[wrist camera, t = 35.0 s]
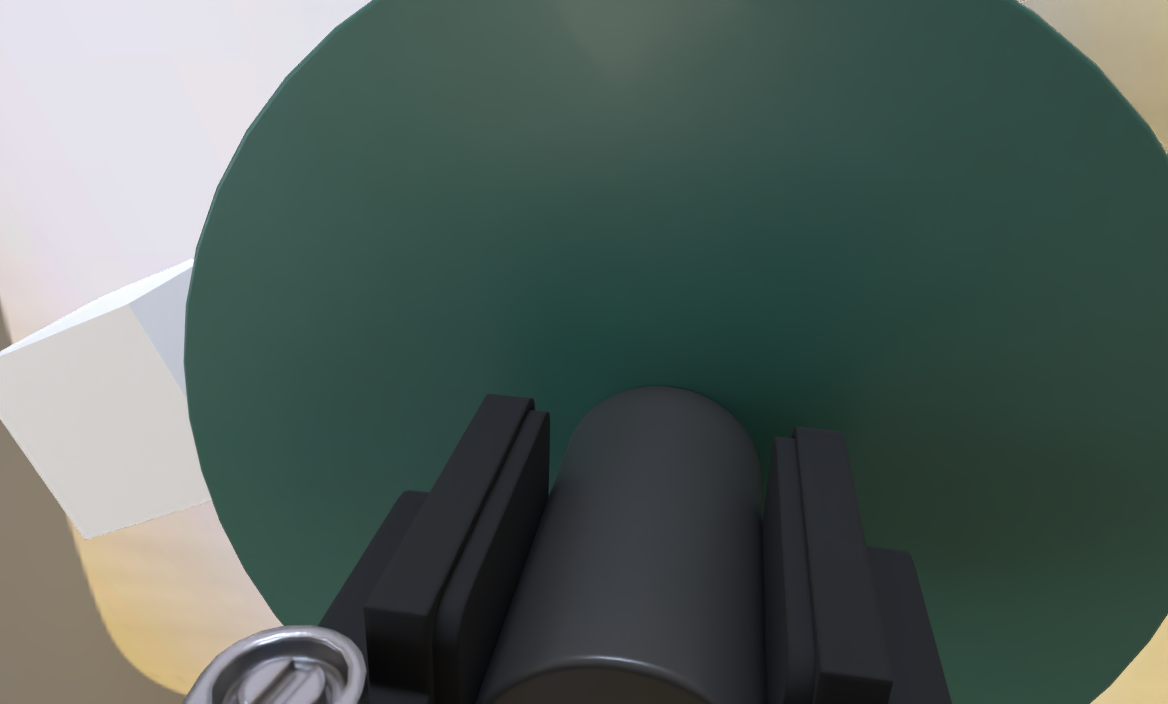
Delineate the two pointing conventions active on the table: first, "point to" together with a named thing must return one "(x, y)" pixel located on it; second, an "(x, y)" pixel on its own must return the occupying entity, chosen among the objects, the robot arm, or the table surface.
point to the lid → (704, 323)
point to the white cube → (109, 406)
